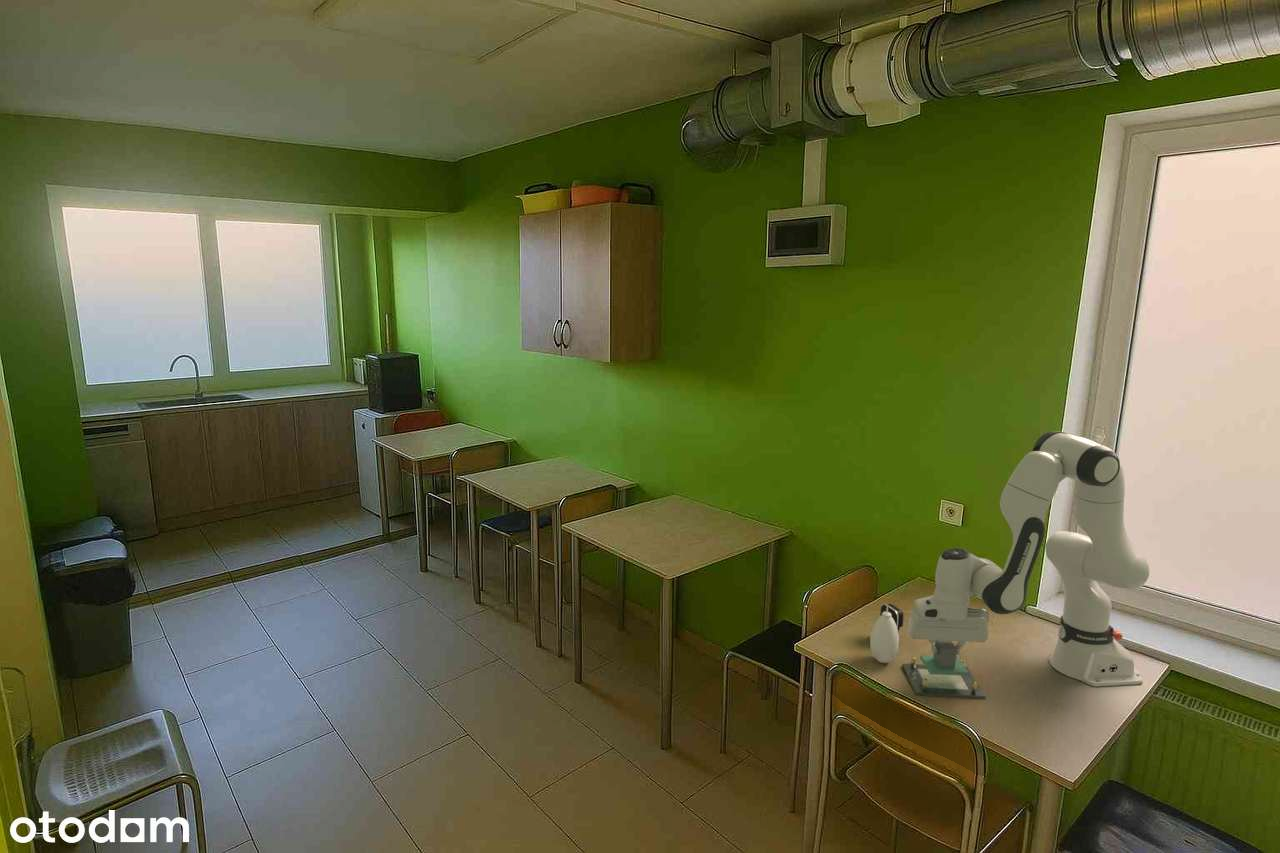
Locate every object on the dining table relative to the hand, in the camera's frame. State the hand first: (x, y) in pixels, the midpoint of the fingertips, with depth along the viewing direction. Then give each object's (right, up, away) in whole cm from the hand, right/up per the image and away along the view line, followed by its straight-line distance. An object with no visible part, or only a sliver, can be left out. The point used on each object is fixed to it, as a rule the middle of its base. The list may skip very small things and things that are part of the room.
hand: (945, 653), depth 192 cm
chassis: (0, -9, +2) cm, 9 cm away
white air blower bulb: (-13, -7, +12) cm, 19 cm away
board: (0, -4, +1) cm, 4 cm away
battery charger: (-7, -4, +23) cm, 25 cm away
